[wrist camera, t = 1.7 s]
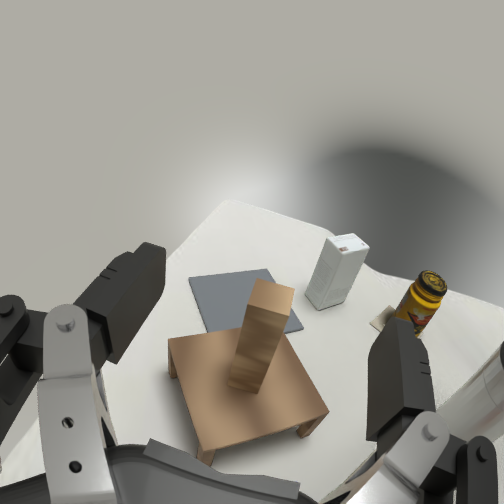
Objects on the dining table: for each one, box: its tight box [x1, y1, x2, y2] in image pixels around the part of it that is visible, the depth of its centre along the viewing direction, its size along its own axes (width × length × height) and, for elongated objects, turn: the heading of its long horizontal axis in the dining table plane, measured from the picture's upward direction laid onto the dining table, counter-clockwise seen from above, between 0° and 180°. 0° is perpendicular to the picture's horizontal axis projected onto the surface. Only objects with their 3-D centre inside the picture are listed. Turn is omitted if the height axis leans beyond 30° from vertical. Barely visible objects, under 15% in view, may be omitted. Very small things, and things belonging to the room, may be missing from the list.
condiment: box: [370, 271, 447, 338], centre depth 48 cm, size 7×8×12 cm
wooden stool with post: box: [168, 278, 329, 466], centre depth 30 cm, size 13×13×19 cm
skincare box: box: [305, 233, 370, 310], centre depth 51 cm, size 6×4×12 cm
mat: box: [189, 269, 304, 334], centre depth 50 cm, size 14×14×1 cm
